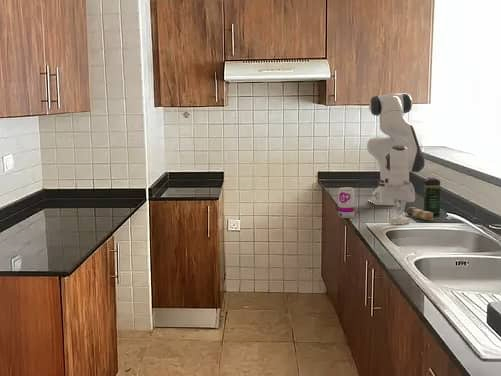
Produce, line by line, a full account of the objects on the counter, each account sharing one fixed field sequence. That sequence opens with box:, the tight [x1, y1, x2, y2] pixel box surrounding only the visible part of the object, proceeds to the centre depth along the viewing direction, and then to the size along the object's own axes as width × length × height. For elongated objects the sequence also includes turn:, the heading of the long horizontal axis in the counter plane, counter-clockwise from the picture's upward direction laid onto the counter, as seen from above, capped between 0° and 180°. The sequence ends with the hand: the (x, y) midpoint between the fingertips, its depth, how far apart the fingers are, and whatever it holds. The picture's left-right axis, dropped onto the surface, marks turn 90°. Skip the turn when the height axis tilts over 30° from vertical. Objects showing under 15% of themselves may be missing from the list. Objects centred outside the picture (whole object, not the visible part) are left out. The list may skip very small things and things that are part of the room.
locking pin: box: [396, 200, 403, 216], centre depth 275 cm, size 3×3×7 cm
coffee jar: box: [423, 177, 441, 216], centre depth 297 cm, size 10×8×19 cm
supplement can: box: [337, 186, 356, 219], centre depth 297 cm, size 8×8×15 cm
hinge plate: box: [405, 213, 435, 221], centre depth 289 cm, size 18×6×1 cm, turn 20°
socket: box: [390, 216, 410, 225], centre depth 275 cm, size 6×6×2 cm
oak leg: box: [407, 206, 434, 219], centre depth 288 cm, size 17×4×3 cm, turn 19°
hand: (399, 209), depth 275 cm, fingers closed on locking pin, 3 cm apart
